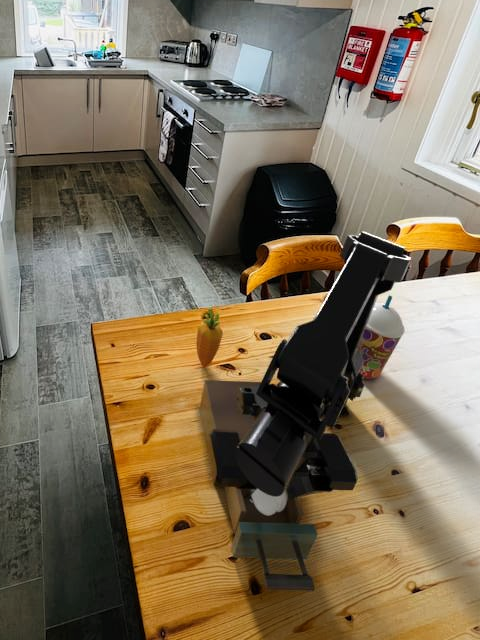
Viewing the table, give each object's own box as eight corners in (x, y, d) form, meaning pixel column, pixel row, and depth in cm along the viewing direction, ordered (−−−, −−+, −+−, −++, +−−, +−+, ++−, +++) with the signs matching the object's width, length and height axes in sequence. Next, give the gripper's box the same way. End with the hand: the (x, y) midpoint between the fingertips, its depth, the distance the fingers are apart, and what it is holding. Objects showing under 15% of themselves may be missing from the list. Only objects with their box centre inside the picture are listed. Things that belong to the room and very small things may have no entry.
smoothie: (365, 390, 81) (397, 316, 74) (331, 358, 88) (357, 287, 80) (392, 377, 85) (425, 305, 77) (357, 347, 92) (384, 278, 84)
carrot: (215, 378, 82) (227, 324, 76) (191, 373, 83) (201, 319, 77) (215, 358, 87) (225, 306, 81) (192, 354, 87) (201, 301, 82)
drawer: (322, 607, 51) (335, 583, 49) (243, 605, 51) (252, 581, 48) (276, 468, 66) (284, 444, 64) (215, 466, 66) (220, 442, 63)
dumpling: (261, 466, 62) (273, 453, 60) (288, 503, 58) (302, 489, 57) (234, 490, 57) (246, 476, 56) (262, 531, 54) (276, 518, 52)
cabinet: (284, 486, 64) (295, 455, 61) (213, 484, 64) (221, 453, 61) (258, 411, 76) (267, 382, 73) (199, 409, 76) (204, 379, 73)
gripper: (331, 371, 59) (306, 438, 65) (207, 366, 58) (194, 434, 65) (375, 451, 49) (341, 521, 55) (225, 446, 48) (208, 518, 54)
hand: (267, 493), depth 57 cm, fingers closed on dumpling, 6 cm apart
